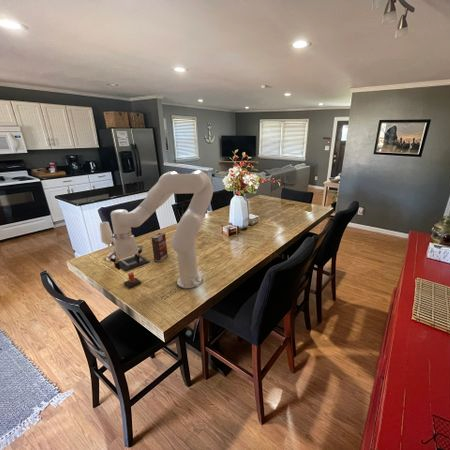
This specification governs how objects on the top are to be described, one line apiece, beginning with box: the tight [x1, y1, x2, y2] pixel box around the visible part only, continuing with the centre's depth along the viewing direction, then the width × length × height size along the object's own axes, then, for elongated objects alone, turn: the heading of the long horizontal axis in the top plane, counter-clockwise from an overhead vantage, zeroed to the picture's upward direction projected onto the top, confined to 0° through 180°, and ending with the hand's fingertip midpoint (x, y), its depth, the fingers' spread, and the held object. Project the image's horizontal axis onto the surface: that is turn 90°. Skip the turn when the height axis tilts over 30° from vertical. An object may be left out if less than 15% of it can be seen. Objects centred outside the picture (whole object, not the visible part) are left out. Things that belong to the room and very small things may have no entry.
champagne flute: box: [99, 221, 115, 262], centre depth 149 cm, size 7×7×24 cm
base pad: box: [118, 255, 149, 272], centre depth 147 cm, size 14×14×2 cm
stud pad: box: [123, 271, 142, 289], centre depth 125 cm, size 6×6×6 cm
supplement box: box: [151, 232, 169, 263], centre depth 151 cm, size 9×5×16 cm, turn 168°
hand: (128, 265), depth 123 cm, fingers open, 9 cm apart
